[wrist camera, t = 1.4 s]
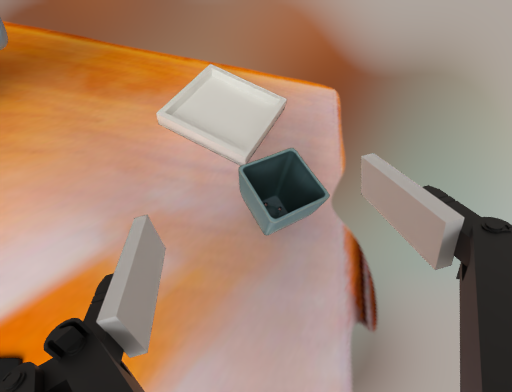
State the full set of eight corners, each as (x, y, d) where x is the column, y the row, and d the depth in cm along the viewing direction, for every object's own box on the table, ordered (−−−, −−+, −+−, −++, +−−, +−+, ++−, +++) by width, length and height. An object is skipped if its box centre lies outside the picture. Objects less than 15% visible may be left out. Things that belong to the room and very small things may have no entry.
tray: (158, 124, 47) (156, 113, 45) (210, 75, 55) (210, 63, 53) (244, 167, 45) (245, 157, 43) (283, 109, 53) (287, 99, 51)
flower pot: (231, 201, 41) (236, 166, 34) (279, 181, 44) (293, 146, 37) (259, 250, 38) (272, 224, 30) (308, 225, 41) (331, 196, 33)
